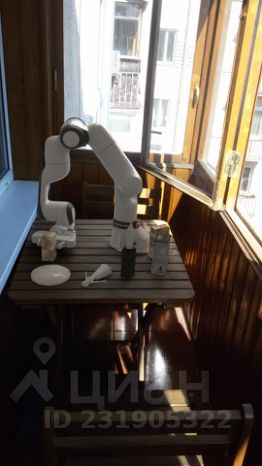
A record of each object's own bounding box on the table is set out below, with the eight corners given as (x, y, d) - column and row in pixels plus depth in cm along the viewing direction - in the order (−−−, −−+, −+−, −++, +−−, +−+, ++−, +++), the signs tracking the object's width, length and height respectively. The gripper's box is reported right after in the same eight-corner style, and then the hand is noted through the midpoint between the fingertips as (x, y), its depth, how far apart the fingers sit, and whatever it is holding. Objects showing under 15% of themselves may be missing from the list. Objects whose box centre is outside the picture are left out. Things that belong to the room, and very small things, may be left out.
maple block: (56, 256, 179) (56, 232, 174) (52, 261, 174) (52, 237, 169) (45, 255, 179) (45, 231, 174) (42, 260, 175) (41, 235, 170)
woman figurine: (120, 266, 165) (93, 285, 152) (120, 275, 167) (93, 295, 154) (99, 257, 171) (71, 275, 157) (99, 266, 173) (71, 284, 159)
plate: (74, 269, 169) (74, 267, 168) (63, 288, 154) (63, 286, 154) (39, 264, 170) (39, 262, 170) (24, 282, 156) (24, 280, 155)
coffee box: (153, 264, 178) (156, 232, 172) (167, 266, 177) (171, 234, 171) (150, 273, 170) (153, 240, 164) (165, 275, 169) (168, 242, 163)
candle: (129, 279, 164) (133, 224, 154) (119, 276, 166) (122, 221, 156) (135, 274, 168) (139, 221, 158) (125, 271, 170) (128, 218, 160)
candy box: (152, 259, 183) (155, 229, 177) (147, 255, 186) (150, 226, 180) (167, 255, 188) (170, 226, 182) (161, 252, 191) (165, 223, 185)
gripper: (37, 225, 186) (25, 236, 173) (78, 230, 184) (70, 242, 171) (37, 237, 188) (26, 249, 176) (78, 242, 186) (70, 255, 173)
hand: (48, 246), depth 173 cm, fingers open, 8 cm apart
